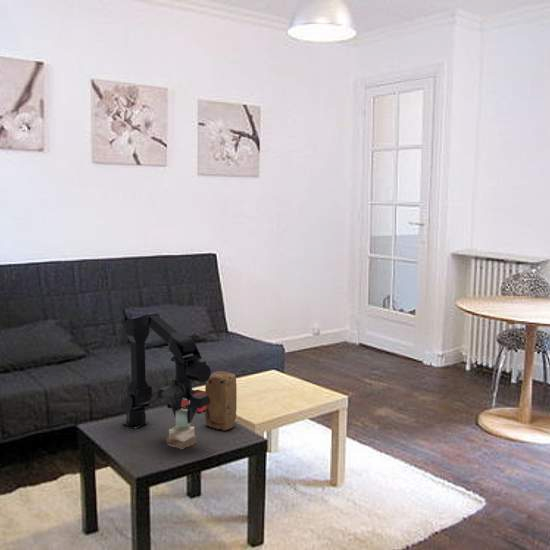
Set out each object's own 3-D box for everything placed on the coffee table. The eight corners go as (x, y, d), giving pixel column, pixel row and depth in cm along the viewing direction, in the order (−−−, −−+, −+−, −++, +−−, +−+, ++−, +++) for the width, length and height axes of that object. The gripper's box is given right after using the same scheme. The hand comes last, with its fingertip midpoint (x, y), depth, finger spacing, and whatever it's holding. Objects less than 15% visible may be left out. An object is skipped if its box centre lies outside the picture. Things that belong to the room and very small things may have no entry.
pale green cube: (172, 425, 213) (172, 412, 212) (182, 420, 217) (182, 408, 216) (183, 428, 210) (184, 415, 210) (193, 423, 214) (193, 411, 214)
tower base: (166, 445, 214) (166, 437, 214) (180, 439, 220) (180, 431, 219) (182, 450, 210) (182, 442, 210) (196, 444, 216) (196, 435, 216)
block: (238, 426, 232) (238, 373, 229) (226, 433, 225) (227, 378, 223) (213, 420, 237) (213, 368, 235) (201, 427, 231) (201, 373, 228)
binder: (167, 402, 251) (196, 388, 270) (166, 408, 251) (196, 394, 270) (201, 411, 244) (229, 396, 263) (201, 417, 244) (229, 401, 263)
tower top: (169, 438, 213) (169, 429, 213) (179, 432, 218) (179, 423, 218) (183, 441, 210) (183, 432, 210) (194, 435, 216) (194, 427, 215)
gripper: (145, 376, 210) (145, 422, 212) (189, 387, 200) (189, 435, 202) (168, 369, 219) (168, 413, 221) (211, 378, 209) (211, 424, 211)
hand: (183, 421), depth 214 cm, fingers closed on pale green cube, 5 cm apart
